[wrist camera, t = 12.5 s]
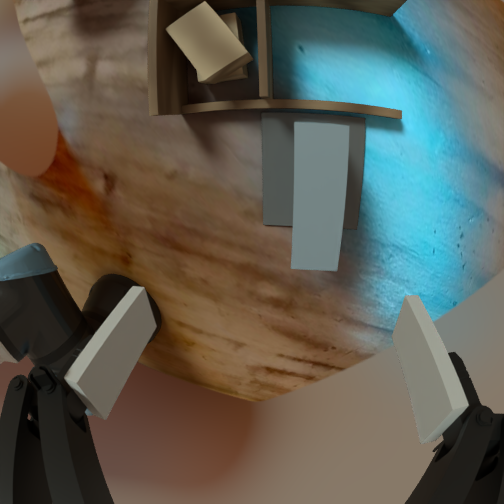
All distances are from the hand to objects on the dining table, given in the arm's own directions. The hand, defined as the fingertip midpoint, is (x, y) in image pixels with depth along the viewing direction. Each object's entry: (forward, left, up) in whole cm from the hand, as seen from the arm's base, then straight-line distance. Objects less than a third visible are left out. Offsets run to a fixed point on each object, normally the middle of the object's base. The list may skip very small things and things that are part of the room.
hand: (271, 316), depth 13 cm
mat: (+3, +3, -23) cm, 23 cm away
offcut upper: (-8, +18, -20) cm, 28 cm away
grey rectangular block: (+3, +3, -22) cm, 23 cm away
